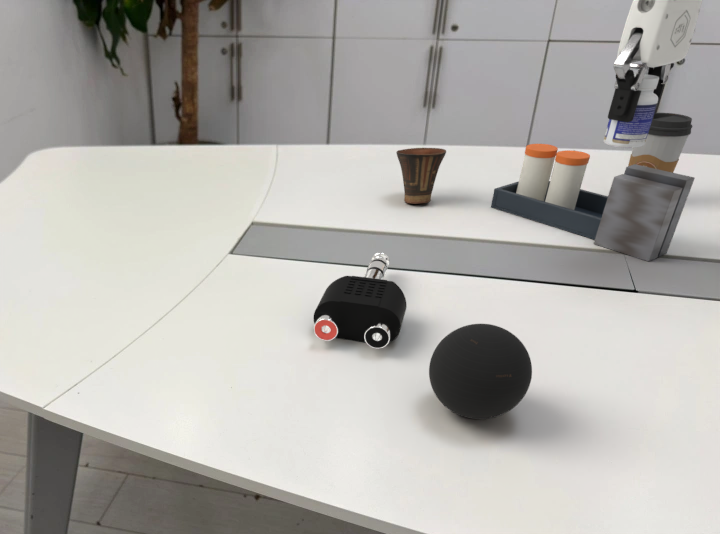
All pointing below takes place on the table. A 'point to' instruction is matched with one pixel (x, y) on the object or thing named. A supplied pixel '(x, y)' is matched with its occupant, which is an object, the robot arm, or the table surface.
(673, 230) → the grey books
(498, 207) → the tray
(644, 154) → the coffee cup
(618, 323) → the table surface
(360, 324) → the audio adapter
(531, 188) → the white bottles
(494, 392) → the speaker
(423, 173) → the cup
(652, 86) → the pill bottle
